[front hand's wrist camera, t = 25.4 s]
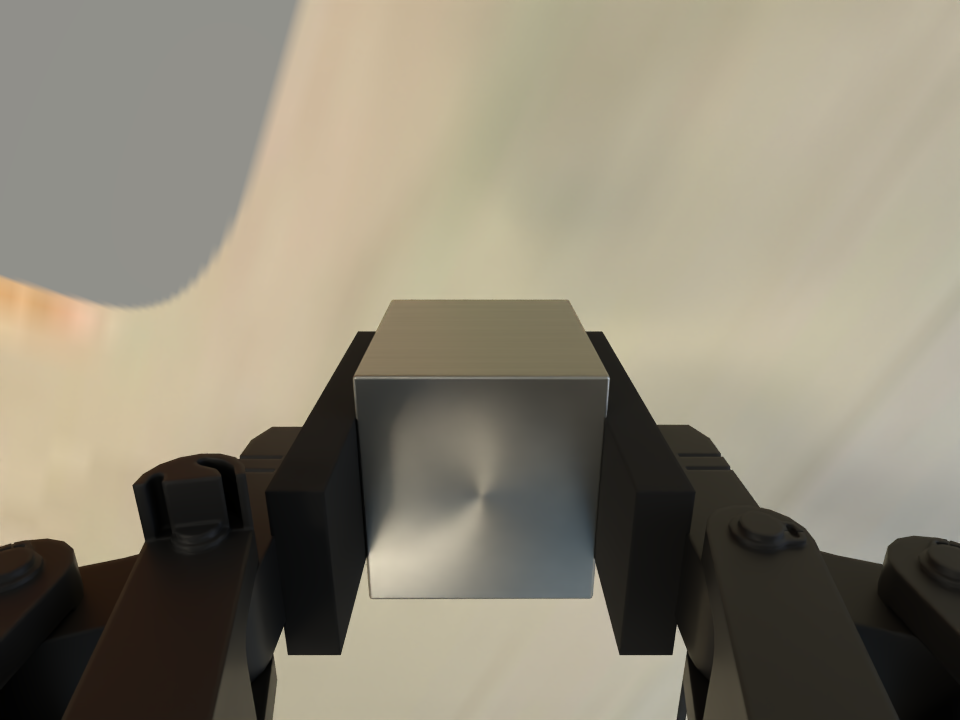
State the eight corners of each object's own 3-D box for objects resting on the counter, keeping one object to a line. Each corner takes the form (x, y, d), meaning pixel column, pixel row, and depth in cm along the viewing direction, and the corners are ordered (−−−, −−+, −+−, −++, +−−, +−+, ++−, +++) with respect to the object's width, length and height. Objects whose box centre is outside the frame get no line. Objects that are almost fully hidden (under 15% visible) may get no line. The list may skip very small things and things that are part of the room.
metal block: (399, 467, 15) (368, 600, 11) (391, 298, 14) (351, 376, 10) (560, 467, 16) (593, 600, 11) (569, 298, 14) (610, 376, 10)
